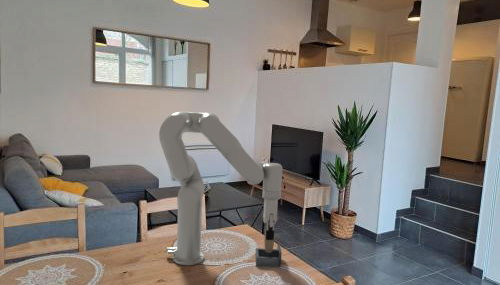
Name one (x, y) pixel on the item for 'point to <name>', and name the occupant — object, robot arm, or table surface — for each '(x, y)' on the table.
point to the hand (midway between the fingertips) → (269, 237)
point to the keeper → (268, 257)
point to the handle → (268, 241)
